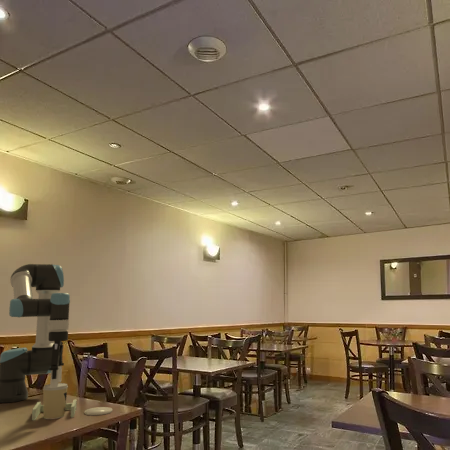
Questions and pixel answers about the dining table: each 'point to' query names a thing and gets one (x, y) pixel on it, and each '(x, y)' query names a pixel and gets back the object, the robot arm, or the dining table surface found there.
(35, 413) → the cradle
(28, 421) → the dining table surface
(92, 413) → the coaster
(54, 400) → the coffee cup
